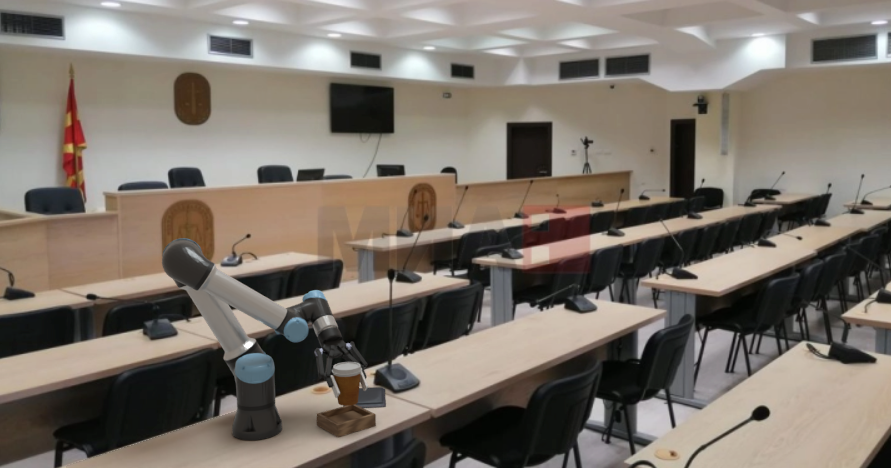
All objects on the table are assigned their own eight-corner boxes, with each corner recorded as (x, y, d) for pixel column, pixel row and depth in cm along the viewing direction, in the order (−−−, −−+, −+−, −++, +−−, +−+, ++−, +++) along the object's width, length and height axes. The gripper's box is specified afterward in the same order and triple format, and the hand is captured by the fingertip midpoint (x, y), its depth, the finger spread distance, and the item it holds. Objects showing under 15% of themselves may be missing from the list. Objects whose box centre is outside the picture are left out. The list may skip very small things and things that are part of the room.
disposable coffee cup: (357, 408, 224) (356, 371, 222) (328, 406, 226) (327, 369, 224) (367, 398, 233) (365, 362, 232) (339, 396, 235) (337, 360, 234)
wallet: (385, 403, 246) (340, 405, 245) (385, 409, 246) (340, 410, 245) (386, 384, 265) (345, 386, 264) (386, 389, 266) (345, 391, 265)
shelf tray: (337, 437, 221) (337, 425, 220) (316, 425, 230) (316, 413, 230) (375, 425, 230) (375, 414, 229) (353, 414, 239) (353, 403, 239)
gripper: (353, 333, 246) (378, 390, 235) (293, 344, 234) (316, 405, 223) (360, 320, 241) (386, 378, 230) (299, 331, 229) (323, 393, 218)
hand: (352, 391), depth 226 cm, fingers closed on disposable coffee cup, 9 cm apart
